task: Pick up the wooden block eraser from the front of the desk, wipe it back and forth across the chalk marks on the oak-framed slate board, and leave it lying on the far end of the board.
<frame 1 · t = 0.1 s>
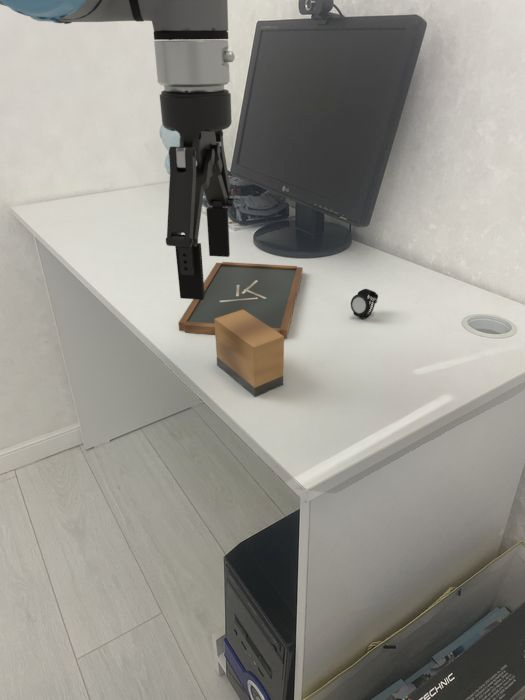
hand: (207, 275, 66), 17 cm above the table, tool pointing down, fingers open, 13 cm apart
slate board: (247, 299, 98), on the table
eraser: (249, 374, 76), on the table
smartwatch: (365, 318, 92), on the table
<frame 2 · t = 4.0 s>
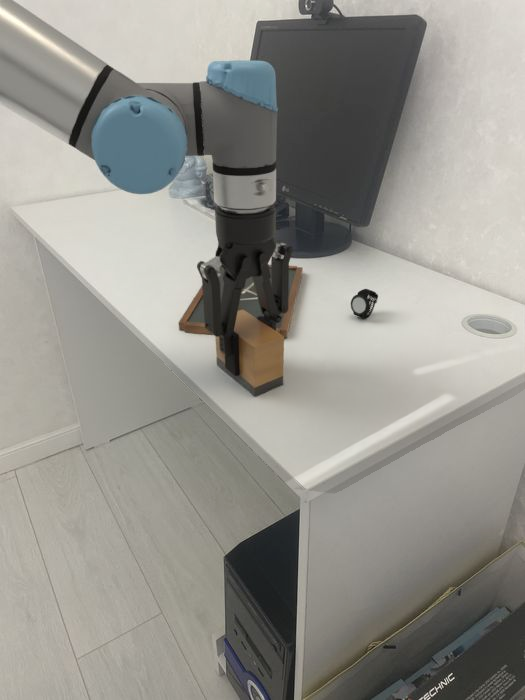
hand: (249, 364, 75), 2 cm above the table, tool pointing down, fingers closed on eraser, 5 cm apart
eraser: (249, 374, 76), on the table, touching gripper
everything else where it was.
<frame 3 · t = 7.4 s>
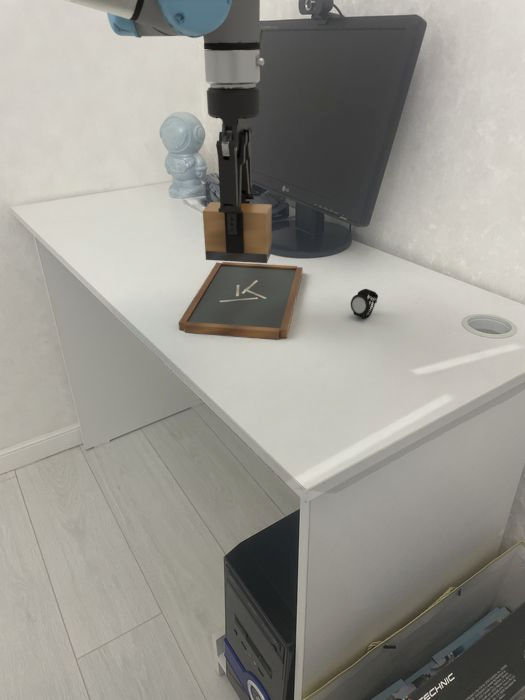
hand: (238, 245, 84), 14 cm above the table, tool pointing down, fingers closed on eraser, 5 cm apart
eraser: (239, 256, 85), point 12 cm above the table, touching gripper
everything else where it was.
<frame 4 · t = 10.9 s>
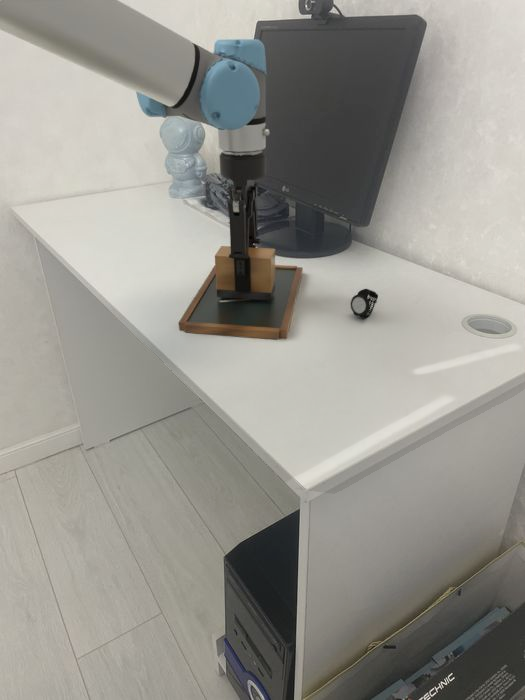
hand: (246, 284, 95), 4 cm above the table, tool pointing down, fingers closed on eraser, 5 cm apart
eraser: (246, 293, 96), point 2 cm above the table, touching gripper
everything else where it was.
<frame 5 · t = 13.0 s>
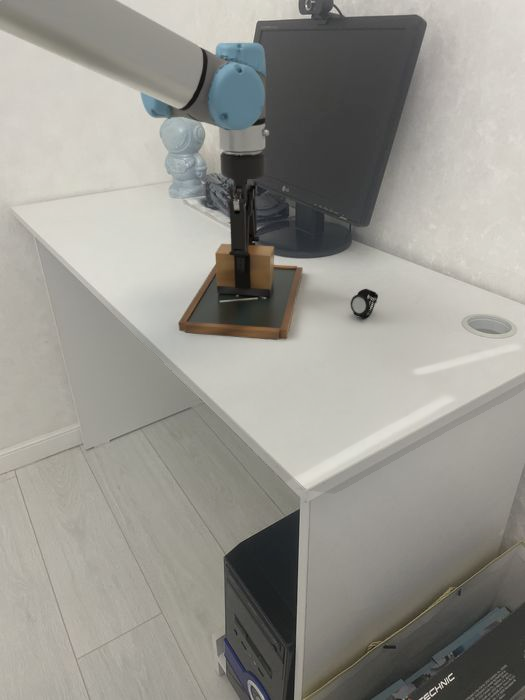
hand: (245, 281, 97), 3 cm above the table, tool pointing down, fingers closed on eraser, 5 cm apart
eraser: (246, 289, 98), point 1 cm above the table, touching gripper
everything else where it was.
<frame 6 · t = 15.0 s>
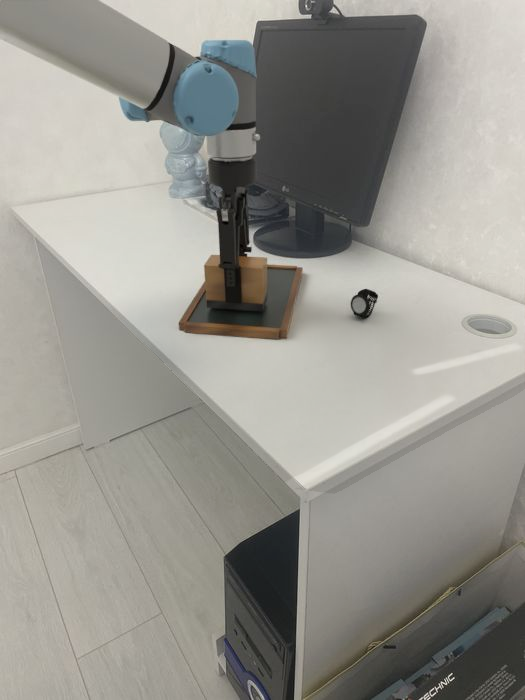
hand: (237, 294, 91), 4 cm above the table, tool pointing down, fingers closed on eraser, 5 cm apart
eraser: (237, 303, 92), point 2 cm above the table, touching gripper
everything else where it was.
when the fingers open (3 cm above the table, at t = 18.1 s): eraser stays where it is, resting on slate board.
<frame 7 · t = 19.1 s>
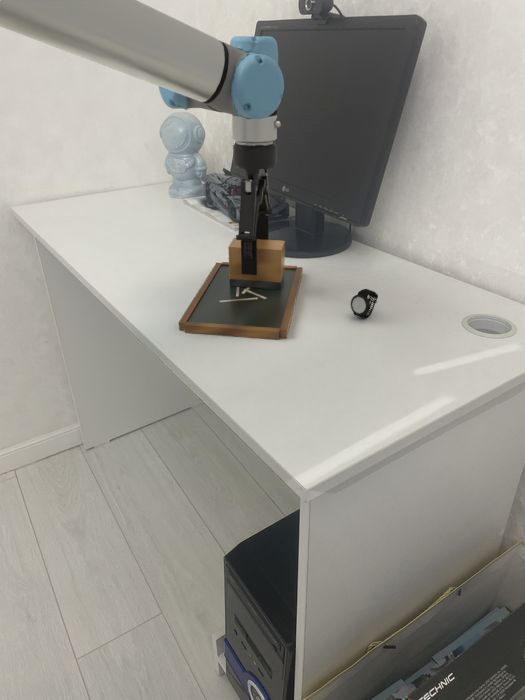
hand: (255, 260, 99), 6 cm above the table, tool pointing down, fingers open, 13 cm apart
eraser: (257, 282, 101), point 1 cm above the table, touching slate board
everything else where it was.
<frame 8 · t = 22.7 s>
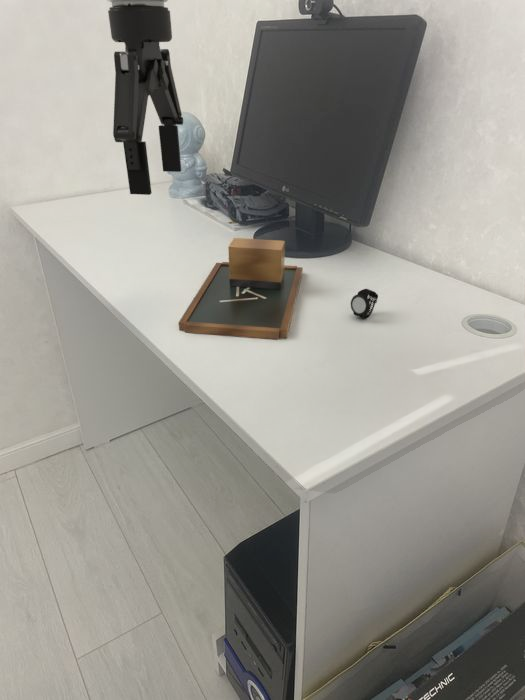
hand: (157, 181, 75), 25 cm above the table, tool pointing down, fingers open, 13 cm apart
nothing on the table moved.
at the end: eraser inside the target area on the slate board (0.1 cm from its centre), point 1.3 cm above the slate board's base; the gripper is holding nothing; eraser tilted 1° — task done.
